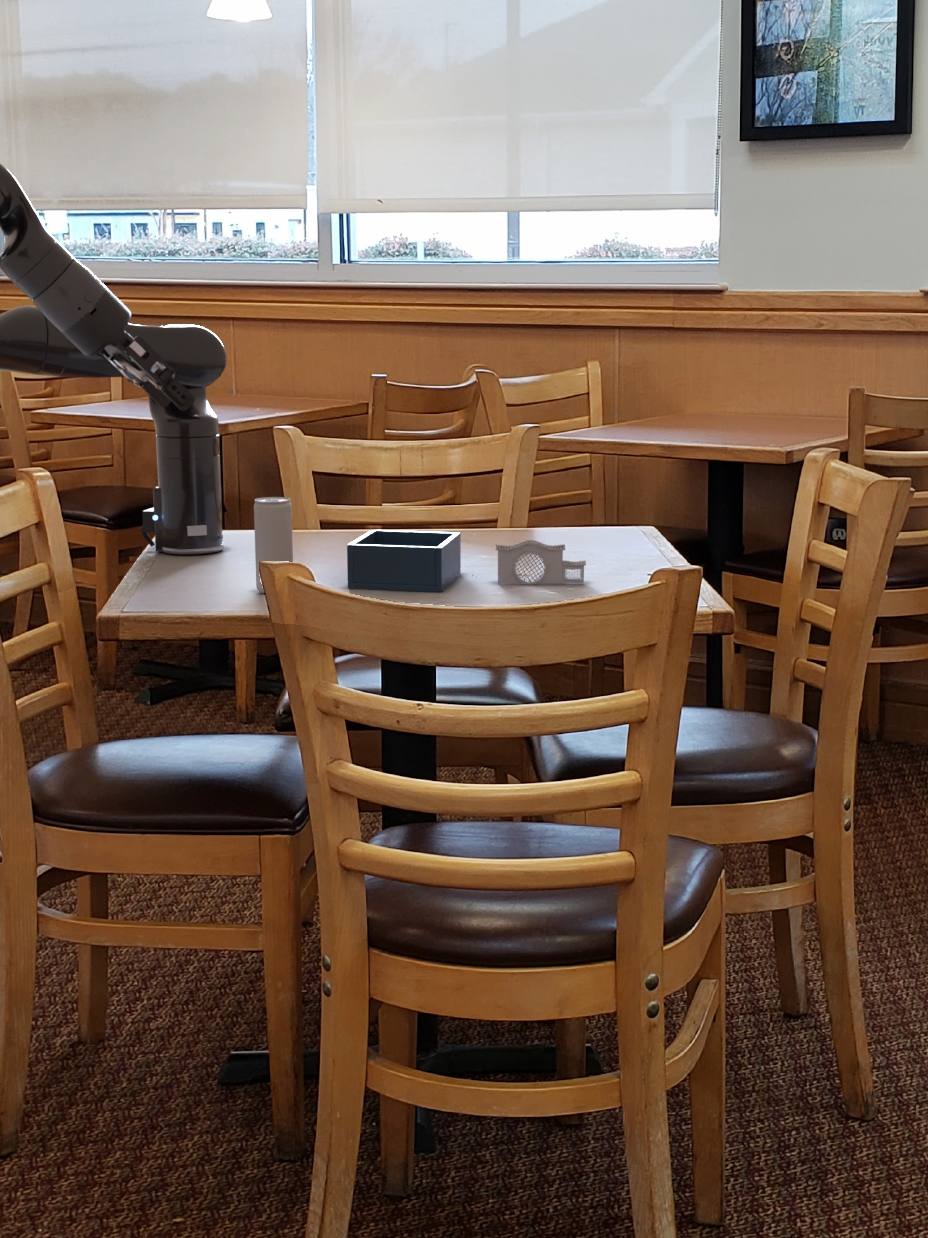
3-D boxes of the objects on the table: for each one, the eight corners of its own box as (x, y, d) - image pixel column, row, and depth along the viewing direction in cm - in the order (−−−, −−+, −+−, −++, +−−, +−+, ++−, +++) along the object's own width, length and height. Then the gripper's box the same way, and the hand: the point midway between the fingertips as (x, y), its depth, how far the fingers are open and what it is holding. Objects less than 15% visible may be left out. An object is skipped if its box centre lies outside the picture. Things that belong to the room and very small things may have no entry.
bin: (347, 588, 192) (346, 544, 191) (371, 570, 204) (371, 529, 203) (441, 592, 190) (441, 547, 189) (460, 574, 202) (460, 532, 201)
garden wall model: (584, 582, 196) (585, 538, 195) (585, 584, 195) (586, 540, 193) (495, 582, 196) (495, 538, 195) (495, 584, 195) (495, 540, 193)
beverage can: (287, 595, 188) (284, 502, 185) (251, 594, 188) (248, 501, 186) (298, 588, 192) (296, 497, 190) (263, 586, 193) (260, 496, 190)
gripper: (46, 329, 178) (143, 423, 185) (72, 329, 166) (175, 429, 173) (89, 285, 179) (183, 380, 187) (117, 282, 167) (217, 383, 174)
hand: (179, 403), depth 180 cm, fingers open, 8 cm apart
